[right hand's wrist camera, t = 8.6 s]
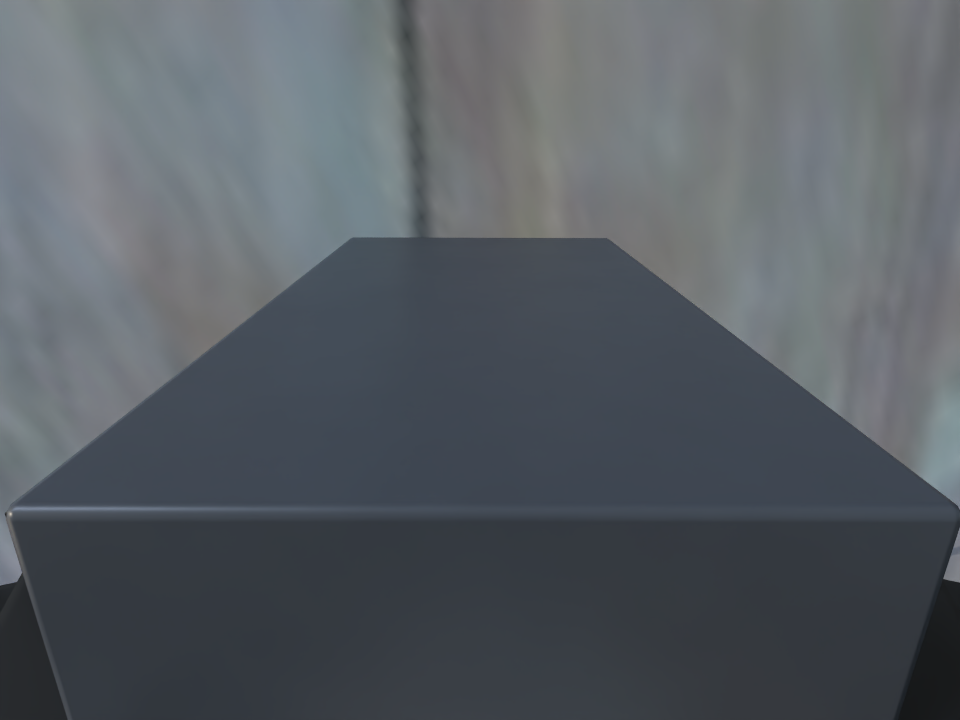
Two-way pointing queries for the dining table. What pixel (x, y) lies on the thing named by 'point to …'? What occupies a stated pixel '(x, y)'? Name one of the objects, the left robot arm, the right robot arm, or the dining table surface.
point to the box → (482, 513)
